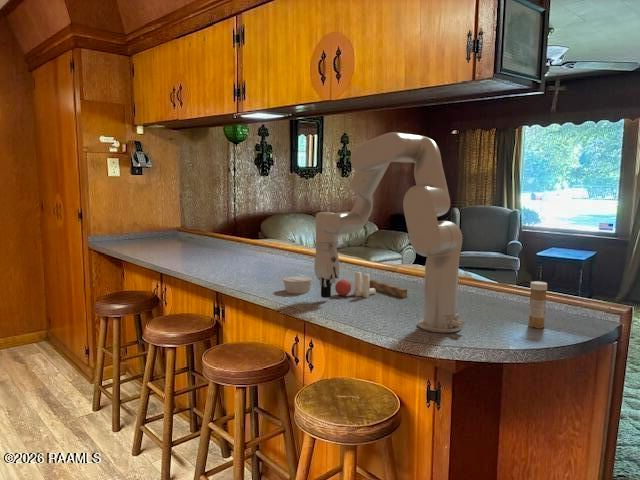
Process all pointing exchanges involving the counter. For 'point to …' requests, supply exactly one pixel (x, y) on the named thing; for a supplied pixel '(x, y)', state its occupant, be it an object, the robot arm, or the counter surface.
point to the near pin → (366, 285)
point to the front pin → (360, 292)
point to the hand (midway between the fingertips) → (325, 296)
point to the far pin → (358, 280)
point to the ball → (343, 287)
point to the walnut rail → (388, 288)
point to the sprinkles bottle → (537, 304)
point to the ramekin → (297, 284)
